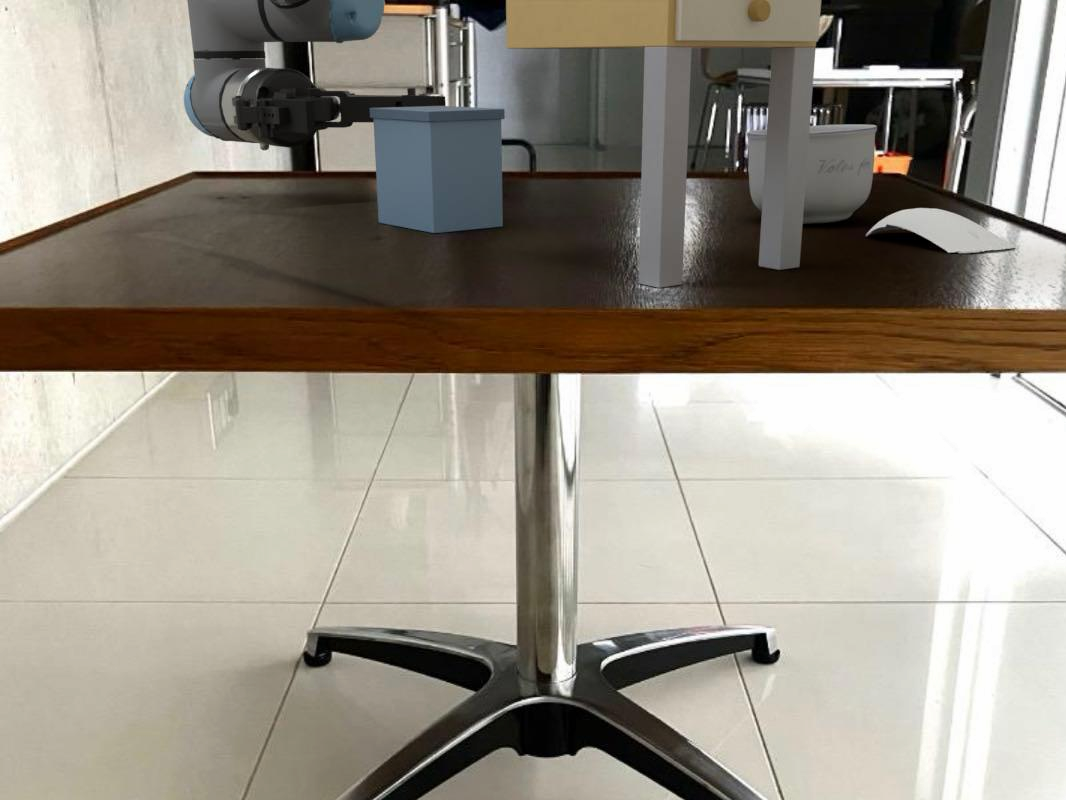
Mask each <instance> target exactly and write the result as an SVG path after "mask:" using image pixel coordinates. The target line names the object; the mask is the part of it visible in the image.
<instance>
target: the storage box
mask: <svg viewBox="0 0 1066 800" xmlns="http://www.w3.org/2000/svg"><path fill="white" fill-rule="evenodd" d="M505 114H506V113H505V108H496V107H495V108H492V107H475V106H473V107H472V106H453V105H446V106H421V107H388V108H370V118H373V120H374V122H373V136H374V140H373V141H374V156H375V176H376V178H375V179H376V196H377V197H376V198H377V215H378V223H379V224H384V225H387V226H393V227H394V226H395V227H400V228H404V229H410V230H414V231H420V232H425V233H431V234H442V233H453V232H461V231H471V230H482V229H491V228H493V229H494V228H500V227H501V228H502V227H503V226H504V220H503V219H504V216H503V215H504V212H503V211H504V210H503V157H502V156H503V146H502V145H503V144H502V142H503V139H502V120H505V117H506V116H505Z"/></svg>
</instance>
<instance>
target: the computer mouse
mask: <svg viewBox="0 0 1066 800" xmlns="http://www.w3.org/2000/svg"><path fill="white" fill-rule="evenodd" d="M894 230H895V231H896V230H907V231H909V232H912V233H915V234H916V235H918V236H920V237H922V238H924V239H926V240H928V241H930V242H931V243H933V244H935V245H936V246H938V247H939V248H941V249H943V250H944V251H946V252H947V253H948V254H950V253H958V254H971V253H972V254H973V253H974V254H975V253H980V252H985V251H1002V250H1006V249H1013V248H1014V249H1017V247H1016V246H1014V245H1013V243H1012V244H1011V243H1010V242H1008V241H1007V240H1005V239H1004V238H1002V237H1000V236H999V235H997V234H995V233H993V231H990V230H988V229H987V228H985V227H984V226H982V225H980V224H978V223H976V222H975V221H972V220H971V219H969V218H968V217H967V218H966V217H964V216H962V215H960V214H958V213H955V212H951V211H948V210H944V209H940V208H929V207H915V208H907V209H902V210H901V209H900V210H899V211H896V212H894V213H891V214H889V215H887V216H885V217H884V218H882V219H881V220H879V221H878V222H877V223H876V224H874V225H873V226H872V227H871V228H870V229H869V230H868V231H867V232H866V234H865V237H868V236H870V235H871V234H874V233H879V232H887V231H894Z"/></svg>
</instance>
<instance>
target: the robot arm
mask: <svg viewBox="0 0 1066 800" xmlns="http://www.w3.org/2000/svg"><path fill="white" fill-rule="evenodd" d="M186 1H187V11H188V18H189V27H190V28H189V29H190V35H191V45H192V51H193V53H192V54H193V60H192V61H193V71H194V74H193V75H192V76H191V77H190V78H189V80H188V82H187V83H186V86H185V89H184V93H183V106H184V110H185V112H186V113H185V114H186V116H187V118H188V120H190V122H191V124H192V125H193V126H194V127H195V128H196V129H197V130H198V131H200V132H201V133H203V134H204V135H206V136H209V137H213V138H215V139H217V140H218V139H219V140H221V141H223V142H236V143H250V144H259V149H260V150H261V151H268V150H269V149H270V146H272V147H281V148H296V147H300V146H302V145H305V144H306V143H308V142H309V141H310V140H312V138H313V137H314V136H315V135H316V133H317V132H318V131H322V130H323V131H325V130H327V129H329V128H330V129H331V128H332V129H334V128H335V129H336V128H337V129H339V128H340V129H341V128H342V129H343V128H350V127H352V125H353V123H374V120H373V118H370V108H388V107H421V106H447V105H446V96H442V95H427V94H424V93H419V94H418V95H417V92H416V87H407V89H406V90H407V94H401V95H400V94H399V95H396V94H395V95H394V94H384V95H383V94H382V95H381V94H356V93H354V92H352V93H351V91H349V90H327V89H325V88H324V87H316V85H315V83H314V82H313V81H312V80H311V79H310V78H309V77H308V76H307V75H305V74H304V73H302V72H301V71H299V70H296V69H293V68H281V67H279V68H278V67H277V68H275V67H266V66H267V65H266V58H267V57H266V50H265V43H336V44H343V43H344V42H354V41H364V40H367V39H370V38H372V37H373V36H374V35H375V34H376V33H377V31H378V30H379V28H380V27H381V24H382V18H383V15H384V12H385V0H186ZM338 99H339V100H338ZM339 116H340V120H339V121H335V120H338V118H339Z"/></svg>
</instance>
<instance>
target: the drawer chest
mask: <svg viewBox="0 0 1066 800" xmlns="http://www.w3.org/2000/svg"><path fill="white" fill-rule="evenodd" d="M821 8H822V0H505V17H506V19H505V21H506V23H505V24H506V27H505V28H506V49H507V50H509V49H511V50H513V49H514V50H515V49H517V50H518V49H519V50H520V49H521V50H523V49H524V50H526V49H527V50H529V49H530V50H532V49H533V50H534V49H535V50H538V49H540V50H544V49H545V50H549V49H550V50H552V49H553V50H555V49H556V50H559V49H560V50H563V49H564V50H566V49H567V50H585V49H586V50H605V49H606V50H611V49H612V50H644V56H643V57H644V60H643V61H644V62H643V92H642V93H643V96H642V99H643V101H642V133H641V135H642V136H641V173H640V174H641V175H640V180H641V181H640V211H639V212H640V214H639V248H638V250H639V251H638V252H639V253H638V254H639V255H638V284H639V285H643V286H647V287H648V286H649V287H654V288H658V289H661V288H669V287H674V286H675V287H676V286H681V285H683V279H684V278H683V277H684V275H683V274H684V251H685V248H684V247H685V223H686V199H687V197H686V196H687V195H686V194H687V175H688V174H687V173H688V172H687V171H688V150H689V149H688V147H689V126H690V125H689V123H690V122H689V121H690V97H691V95H690V94H691V74H692V73H691V72H692V71H691V70H692V49H746V48H747V49H753V48H754V49H756V48H757V49H758V48H771V57H770V72H769V74H770V75H769V90H768V104H767V105H768V106H767V121H766V129H767V137H766V153H765V169H764V185H763V202H762V211H761V218H760V219H761V221H760V234H759V251H758V252H759V254H758V267H759V268H765V269H770V270H776V271H783V270H790V269H796V268H800V265H801V264H800V263H801V252H802V250H801V249H802V240H803V239H802V238H803V237H802V236H803V225H804V224H803V212H804V198H805V184H806V171H807V157H808V144H809V130H810V126H811V117H812V101H813V91H814V90H813V88H814V75H815V62H816V61H815V60H816V47H817V43H818V42H819V37H820V22H821V21H820V20H821V10H822V9H821Z"/></svg>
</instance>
